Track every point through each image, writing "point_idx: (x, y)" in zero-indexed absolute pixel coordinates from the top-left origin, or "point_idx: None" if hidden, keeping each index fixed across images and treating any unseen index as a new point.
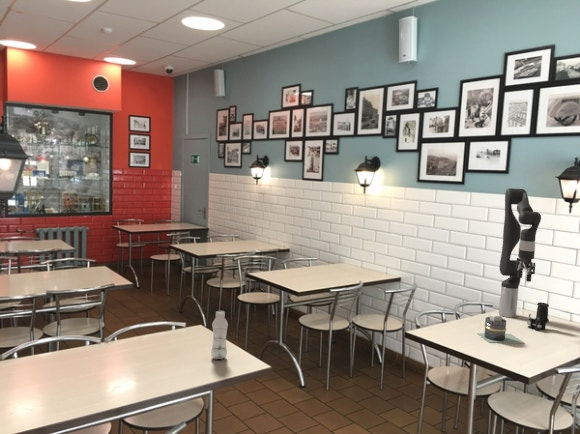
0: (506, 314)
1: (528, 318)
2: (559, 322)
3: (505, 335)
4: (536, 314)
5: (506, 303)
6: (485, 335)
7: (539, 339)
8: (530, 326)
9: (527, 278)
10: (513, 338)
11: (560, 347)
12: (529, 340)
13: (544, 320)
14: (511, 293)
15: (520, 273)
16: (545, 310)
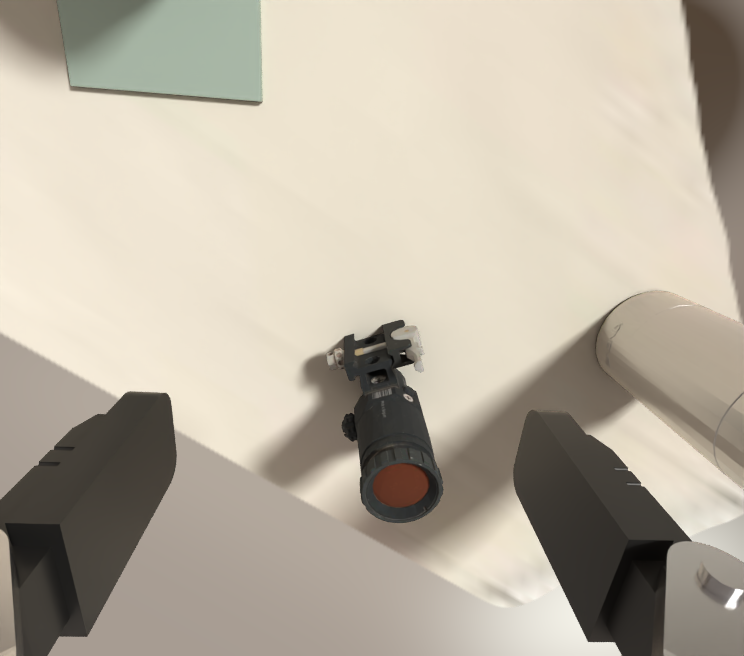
0: (624, 314)
1: (418, 346)
2: (478, 534)
3: (216, 26)
4: (415, 409)
5: (683, 341)
6: None
7: (180, 252)
8: (388, 329)
9: (91, 438)
10: (152, 51)
11: (47, 290)
12: (149, 168)
13: (354, 414)
14: (730, 411)
15: (570, 525)
16: (360, 461)
